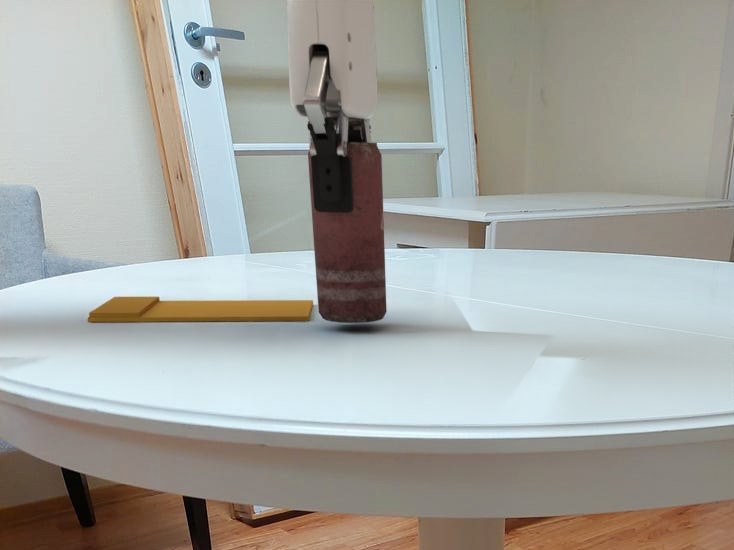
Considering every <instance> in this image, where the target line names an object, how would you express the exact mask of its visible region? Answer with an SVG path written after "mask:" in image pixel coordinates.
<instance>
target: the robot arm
mask: <svg viewBox="0 0 734 550" xmlns="http://www.w3.org/2000/svg"><path fill="white" fill-rule="evenodd" d="M374 8H375V6H374V0H286V27H287V29H286V31H287V55H288V56H287V57H288V59H287V60H288V79H289V80H288V81H289V83H288V84H289V99H290V106H291V108H292V110H293V111H294V112H295V113H296V114H297V115H298V116H300V117H304V118H307V119H308V121H307V125H306V126H307V130H308V131H309V143H308V146H309V149H310V154H311V167H312V181H313V196H314V208H315V210H316V211H318V212H338V213H349V212H352V211H353V209H354V203H353V182H352V161H351V157H346V155H347V142H362V143H372V136H371V133H372V131H371V130H372V126H371V124H370V119H371V118H372V117H373V116H374V115H375V114H376V113H377V110H378V65H377V64H378V63H377V61H378V60H377V44H376V28H375V15H374Z"/></svg>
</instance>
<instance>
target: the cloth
mask: <svg viewBox="0 0 734 550" xmlns="http://www.w3.org/2000/svg"><path fill="white" fill-rule="evenodd" d="M313 306H314V301H313V299H293V300H292V299H282V300H281V299H279V300H277V299H276V300H275V299H274V300H273V299H268V300H267V299H266V300H265V299H264V300H262V299H260V300H259V299H258V300H255V299H252V300H249V299H247V300H243V299H242V300H241V299H240V300H237V299H235V300H231V299H230V300H228V299H227V300H160V296H113V297H112V298H110V299H109V300H107V301H106V302H104V303H102V304H101V305H99V306H98V307H96V308H94V309H93V310H91V311H90V312H88V317H87V322H88V323H136V322H137V323H139V322H145V323H146V322H147V323H149V322H152V323H154V322H155V323H156V322H157V323H159V322H161V323H163V322H165V323H166V322H167V323H168V322H305V321H306V322H308V321H310V317H311V312H312V309H313Z"/></svg>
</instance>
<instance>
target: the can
mask: <svg viewBox="0 0 734 550" xmlns="http://www.w3.org/2000/svg"><path fill="white" fill-rule="evenodd" d="M346 157H351V161H352V182H353V203H354V209H353V211H352V212H349V213H338V212H318V211H316V210H315V208H314V196H313V181H312V167H311V154H310V148H309V150H308V152H307V163H308V178H309V189H310V191H309V193H310V205H311V207H310V208H311V219H312V220H311V222H312V233H313V234H312V237H313V250H314V265H315V266H314V267H315V280H316V292H317V293H316V294H317V309H318V314H319V315H320V316H321V319H323V320H324V321H327V322H332V323H340V324H343V323H344V324H361V323H362V324H364V323H365V324H366V323H373V322H377V321H378V322H379V321H381V320H383V319H384V318H385V315H386V314H387V310H388V309H387V287H386V286H387V285H386V283H387V281H386V279H387V278H386V253H385V252H386V251H385V249H386V248H385V220H384V217H385V216H384V189H383V186H384V185H383V161H382V160H383V159H382V153H381V152H380V148H379V147H378V142H371V143H362V142H347V155H346Z"/></svg>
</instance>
